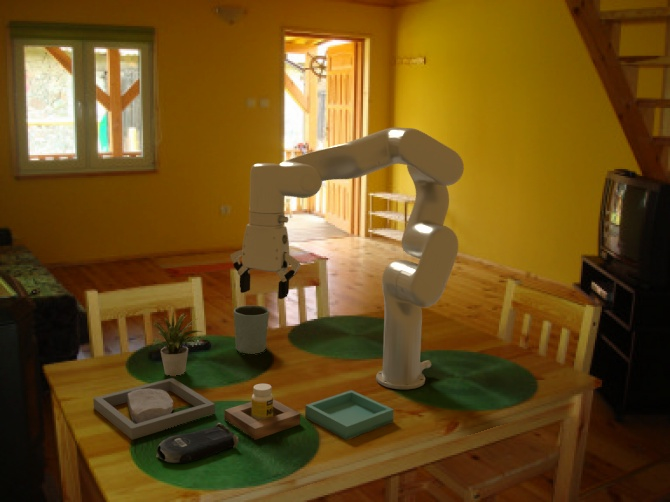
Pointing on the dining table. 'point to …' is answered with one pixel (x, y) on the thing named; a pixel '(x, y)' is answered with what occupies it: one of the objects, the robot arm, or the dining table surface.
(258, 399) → the supplement bottle
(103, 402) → the gray rectangular frame
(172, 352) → the house plant
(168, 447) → the electronic device
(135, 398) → the stone block
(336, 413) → the tray
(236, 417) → the square wooden frame
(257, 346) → the gray cup
